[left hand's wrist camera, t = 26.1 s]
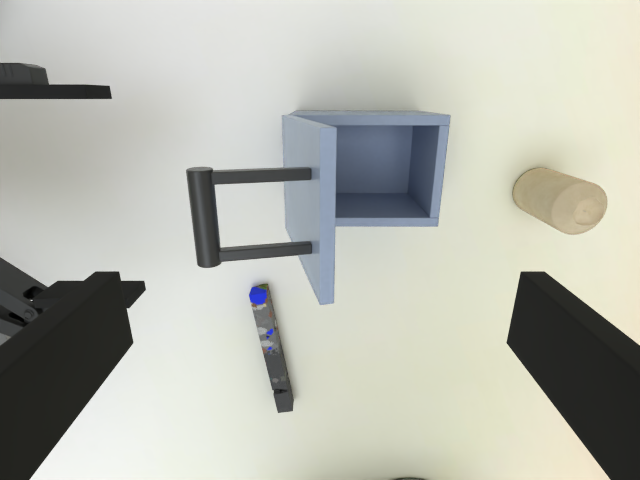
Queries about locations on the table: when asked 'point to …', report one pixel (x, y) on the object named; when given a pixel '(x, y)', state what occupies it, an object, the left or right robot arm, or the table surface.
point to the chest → (387, 165)
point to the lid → (300, 205)
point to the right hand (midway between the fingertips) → (120, 202)
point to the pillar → (271, 347)
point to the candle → (560, 200)
